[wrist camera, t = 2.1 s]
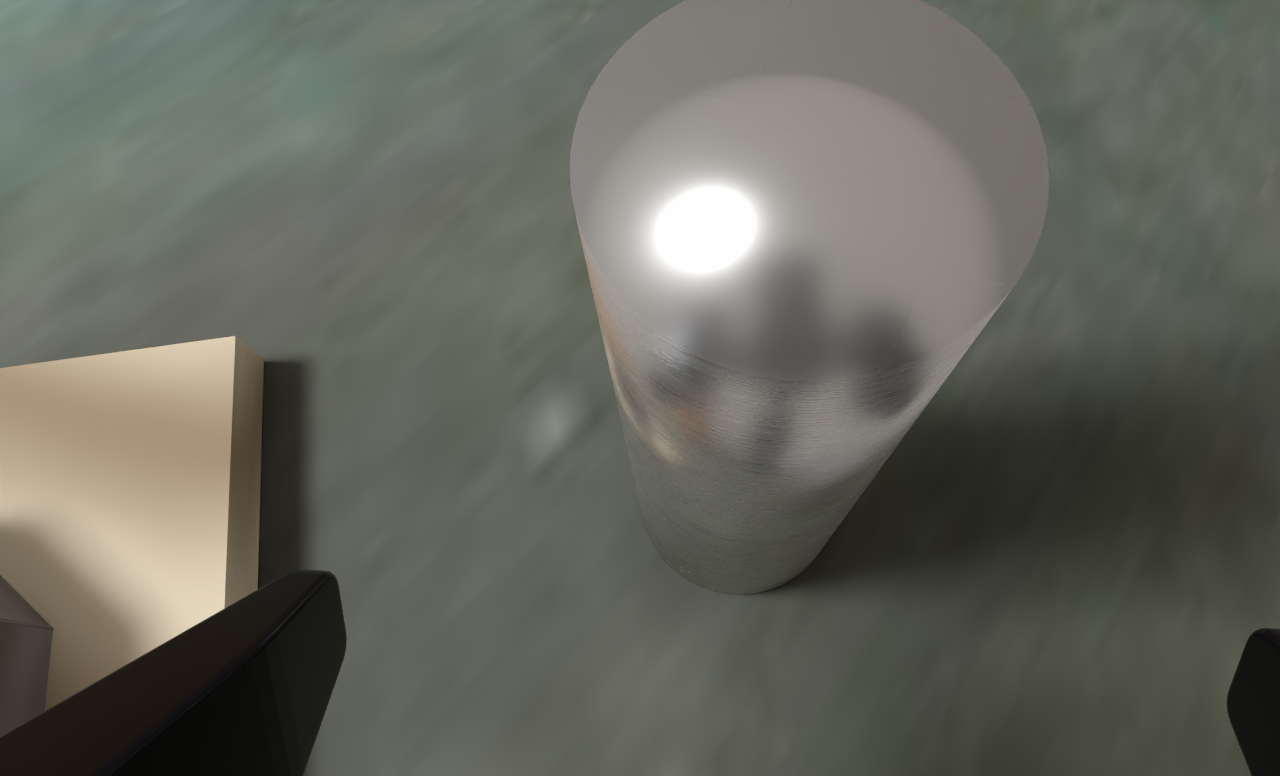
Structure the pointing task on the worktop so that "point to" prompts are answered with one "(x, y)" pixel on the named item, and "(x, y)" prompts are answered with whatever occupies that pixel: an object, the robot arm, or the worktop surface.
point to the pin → (793, 256)
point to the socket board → (121, 509)
